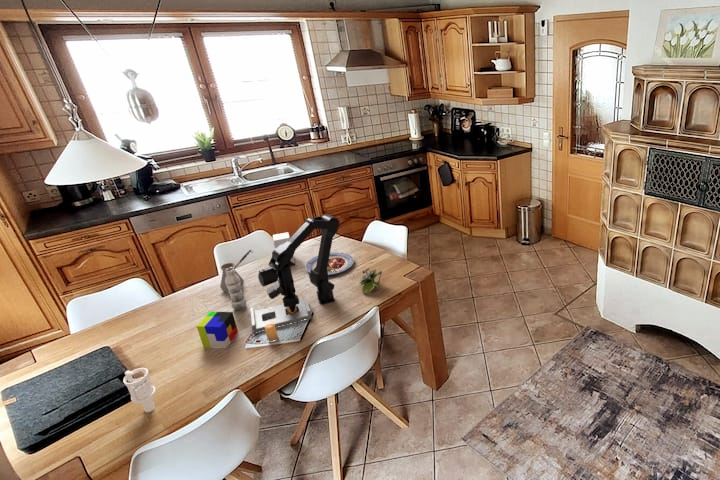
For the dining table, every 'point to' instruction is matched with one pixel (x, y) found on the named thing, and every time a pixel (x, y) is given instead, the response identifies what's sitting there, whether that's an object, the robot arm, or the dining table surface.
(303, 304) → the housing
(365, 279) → the green leafy clump
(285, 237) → the supplement box
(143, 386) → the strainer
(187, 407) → the dining table surface
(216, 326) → the puzzle toy
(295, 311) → the orange tapered peg
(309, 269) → the ceramic plate
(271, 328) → the orange rounded plug
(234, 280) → the plastic bottle
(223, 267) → the coffee pot
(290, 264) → the robot arm
